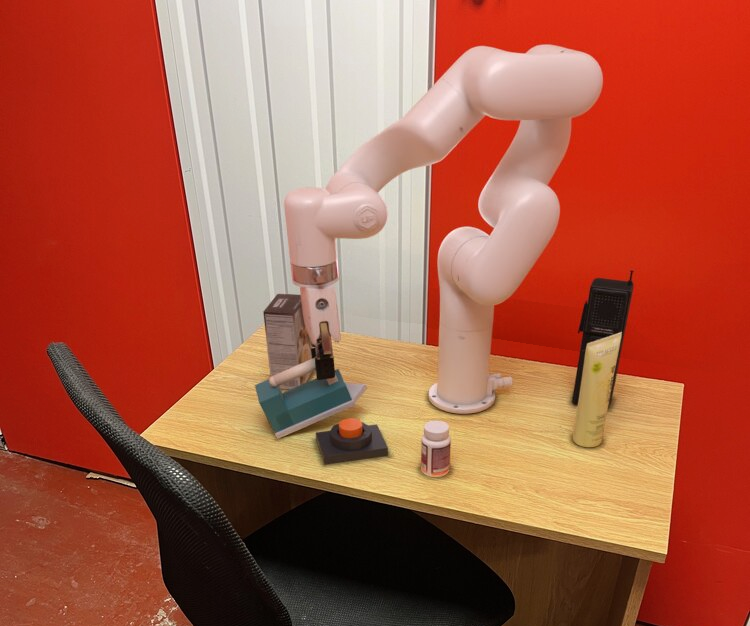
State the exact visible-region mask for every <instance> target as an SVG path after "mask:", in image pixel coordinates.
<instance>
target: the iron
mask: <svg viewBox="0 0 750 626" xmlns="http://www.w3.org/2000/svg"><path fill="white" fill-rule="evenodd" d="M315 358H316V357H315ZM315 358H313V359H310V360H308V361H306V362H304V363H301V364H299V365H297V366H294V367H292V368H290V369H287V370H285V371H283V372H281V373H278V374H276V375H274V376H272V377H270V378H268V379H265V380H264V381H260V382H259V383H257V384H255V385H254V387H255V391H256V395H257V400H258V404H259V405H260V406H259V407H261V409H262V411H263V413H264V415H265V418H266V420H267V421H268V422H269V424H270V427H271V429H272V430H273V432H274V435H275V437H276V439H277V440H279V439H281V438H283V437H285V436H288V435H291V434H292V433H295V432H297V431H300V430H301V429H304V428H307V427H308V426H311V425H314V424H315V423H318V422H321V421H323V420H325V419H327V418H329V417H332V416H334V415H336V414H339V413H341V412H344V411H346V410H348V409H350V408H352V407H355V406H356V403H357V401H358V400H359V399H360V398H361V397H362V396H363V394H364V393H365V392H366V391H367V390H368V386H367V384H366V383H357V382H354V383H353V382H346V381H345V380H344V378H343V376H342V373H341V372H340V371H341V370H340V369H339V368H337V369H336V368H335V377H334V378H330V379H323V380H318V379H317V377H316V378H314V379H311V380H308V381H307V382H306V383H304V384H302V385H300V386H297V387H295V388H293V389H287V390H286V391H282V389H280V387H279V386H280V385H282V384H285V383H287V382H289V381H292V380H294V379H296V378H298V377H301V376H303V375H305V374H308V373H310V372H312V373H313V372H314V371H315V372H316V367H315Z"/></svg>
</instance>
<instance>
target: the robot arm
mask: <svg viewBox="0 0 750 626" xmlns="http://www.w3.org/2000/svg"><path fill="white" fill-rule="evenodd" d="M603 75H604V74H603V71H602V68H601V66H600V65H599V62H598V61H597V60H596V59H595V58H594V57H593V56H592V55H591V54H588V53H586V52H583V51H580V50H575V49H571V48H567V47H564V46H559V45H554V44H538V45H535V46H533V47H531V48H530V49H528V50H527V51H526V52H525V53H523V52H521V53H520V52H512V51H508V50H503V49H500V48H496V47H492V46H486V45H478V46H477V45H476V46H474V47H471V48H469V49H468V50H466V51H464V53H462V55H461V56H460V57H458V59H456V60H455V62H453V64H452V65H451V66H450V67H449V68H448V69H447V70H446V71H444V73H443V74H442V75H441V77H440V78H439V79H437V81H436V82H435V83H434V84H432V86H431V87H430V88H429V89H428V90H427V91H426V92H425V94H423V95H422V96H421V98H420V99H419V100H418V101H417V102H416V103H415V104H414V105H413V106H412V108H411V109H409V111H407V113H405V114H404V116H402V117H401V118H400V119H398V120H396V121H395V122H393V123H392V124H390V125H388V126H387V127H386V128H384V129H383V130H381V131H380V132H379V133H377V134H376V135H374V136H372V137H371V138H370V139H368V140H367V141H366V142H364V143H363V144H362V145H361V146H360V147H358V148H357V150H356V151H355V152H354V153H353V154H351V155H350V157H348V158H347V160H346V161H345V162H344V163H343V164H342V165H341V167H339V169H337V171H336V172H334V174H333V175H332V177H331V178H330V179H329V181H328V183H327V185H326V187H325V188H321V187H316V186H307V187H306V186H305V187H300V188H295V189H293V190H291V191H288V193H287V194H286V195H285V197H284V202H283V207H284V208H283V209H284V217H285V228H286V235H287V245H288V255H289V263H290V273H291V280H292V284H294V286H297V287H299V291H300V294H299V295H301V303H302V311H303V318H304V323H305V327H306V330H307V332H308V335H309V337H310V339H311V346H312V348H311V356H312V359H313V358H315V357H316V358H315V367H316V370H315V374H316V378H317V379H318V380H323V379H330V378H334V377H335V370H336V368H335V357H334V350H333V341H334V343H340V342H341V341H342V334H341V327H340V325H341V324H340V317H339V307H338V301H337V293H336V289H335V284H336V283H337V282H338V281H339V278H340V277H339V276H340V275H339V264H338V251H337V239H347V240H348V239H349V240H363V239H369V238H371V237H374V236H377V234H379V233H381V232H382V230H383V229H384V228H385V226H386V223H387V222H388V217H389V216H388V215H389V214H388V213H389V212H388V207H387V204H386V202H385V200H384V199H383V197H382V196H381V194H380V193H379V192H381V190H382V189H384V187H386V186H387V185H388V184H389V183H390V182H391V181H393V180H394V179H396V178H397V177H398V176H400V175H401V174H403V173H406V172H407V171H411V170H414V169H418V168H423V167H428V166H431V165H434V164H436V163H439V162H441V161H443V160H444V159H445V158H446V157H447V156H448V155H449V154H450V153H451V152H452V151H453V150H454V149H455V147H457V145H458V144H460V142H461V141H462V140H463V139H464V138H465V137H466V136H467V135H468V134H469V133H470V132H471V131H472V130H473V129H474V128H475V127H476V126H477V125H478V124H479V123H480V122H481V121H482V120H483V119H484V118H485V117H486V116H487V117H489V118H490V119H491V118H492V119H496V120H500V121H520V122H519V126H518V128H517V131H516V133H515V136H514V137H513V139H512V141H511V143H510V145H509V147H508V148H507V150H506V152H505V153H504V154H503V156H502V158H501V159H500V161H499V163H498V165H497V166H496V168H495V169H494V171H493V173H492V174H491V176H490V177H489V179H488V181H486V183H485V185H484V187H483V188H482V191H481V192H480V195H479V198H478V204H477V205H478V211H479V214H480V216H481V217H482V219H483V220H484V221H485V222H486V223H487V224H488V225H489V226H490V227H492V228H493V229H492V231H491V233H490V235H489V234H488V233H486V232H485V231H484V230H481V229H480V228H478V227H477V228H476V227H474V226H473V227H472V226H461V227H457V228H455V229H453V230H452V231H450V232H449V233H448V234H447V235H446V236H445V237H444V239H443V240H442V241H441V243H440V246H439V249H438V253H437V276H438V285H439V325H438V326H439V327H438V328H439V329H438V350H437V357H438V358H437V375H436V377H437V378H436V382H435V383H433V384H432V385H431V386H430V387H429V389H428V400H429V401H430V403H431V404H432V405H433V407H435V408H437V409H439V410H440V411H444V412H446V413H447V412H448V413H452V414H459V415H468V414H475V413H480V412H482V411H485V410H488V409H489V408H490V407H492V406H493V404H495V401H496V391H497V390H498V389H505V388H512V387H513V385H514V384H513V383H514V380H513V378H512V376H505V377H503V376H502V373H501V372H497V373H492V374H490V362H491V353H492V352H491V351H492V339H493V328H494V327H493V325H494V315H495V306H497V305H500V304H502V303H504V302H505V301H507V300H508V299H509V298H510V297H512V296H513V294H514V293H515V292H516V291H517V290H518V288H519V287H520V286H521V284H522V283H523V281H524V280H525V278H526V277H527V276H528V274H529V273H530V271H531V270H532V269H533V267H534V265H535V264H536V263H537V261H538V260H539V258H540V256H541V255H542V254H543V252H544V250H545V249H546V247H547V246H548V245H549V242H550V241H551V239H552V238H553V236H554V234H555V232H556V230H557V228H558V225H559V220H560V215H561V205H560V201H559V198H558V196H557V194H556V192H555V191H554V190H553V189H552V188H551V187H550V186H549V183H550V182H551V180H552V178H553V177H554V175H555V173H556V172H557V170H558V168H559V166H560V165H561V163H562V161H563V160H564V158H565V155H566V153H567V150H568V147H569V144H570V140H571V133H572V119H573V118H577V117H580V116H582V115H584V114H585V113H587V112H588V111H589V110H591V109H592V107H593V106H594V105H595V104H596V102H597V101H598V99H599V98H600V95H601V93H602V89H603V84H604V77H603ZM332 340H333V341H332Z"/></svg>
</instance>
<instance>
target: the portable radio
mask: <svg viewBox="0 0 750 626" xmlns="http://www.w3.org/2000/svg"><path fill="white" fill-rule="evenodd" d="M629 272H630V274H629V279H628V280H619V279H611V278H604V277H596V278H594V279H593V280H592V282H591V284H590V286H589V290H588V291H589V292H588V297H587V300H585V302H584V304H583V308H582V311H581V312H582V313H581V317H580V322H579V326H578V331H577V334H580V333H582V336H581V337H582V338H581V341H580V342H581V343H580V347H579V348H580V349H579V355H578V361H577V367H576V373H575V379H574V385H573V392H572V398H571V402H572V404H574V405H578V401H579V394H580V387H581V381H582V374H583V367H584V359H585V352H586V346H587V343H590V342H594V341H597V340H600V339H603V338H606V337H609V336H612V335H614V334H617V333H620V332H622V336H621V342H620V347H619V352H618V357H617V362H616V367H615V373H614V378H613V384H612V389H611V394H610V400H609V405H608V410H609V408H610V406H611V403H612V400H613V395H614V390H615V386H616V380H617V376H618V370H619V365H620V359H621V355H622V349H623V345H624V339H625V334H626V329H627V323H628V317H629V314H630V313H629V312H630V307H631V302H632V297H633V292H634V282H633V280H632V278H633V275H634V272H635V270H631V269H630V270H629Z"/></svg>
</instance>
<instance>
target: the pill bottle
mask: <svg viewBox="0 0 750 626" xmlns="http://www.w3.org/2000/svg"><path fill="white" fill-rule="evenodd" d="M449 434H450V425H449V423H448V422H445V421H443V420H439V419H438V420H437V419H435V420H430V421H427V422H426V423H424V426H423V435H422V436H421V438H420V471H421V472H422V474H424V475H425V476H426V477H430V478H440V477H441V478H442V477H444V476H446V475H447V474H449V471H450V466H451V447H452V446H451V445H452V439H451V436H450V435H449Z"/></svg>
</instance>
